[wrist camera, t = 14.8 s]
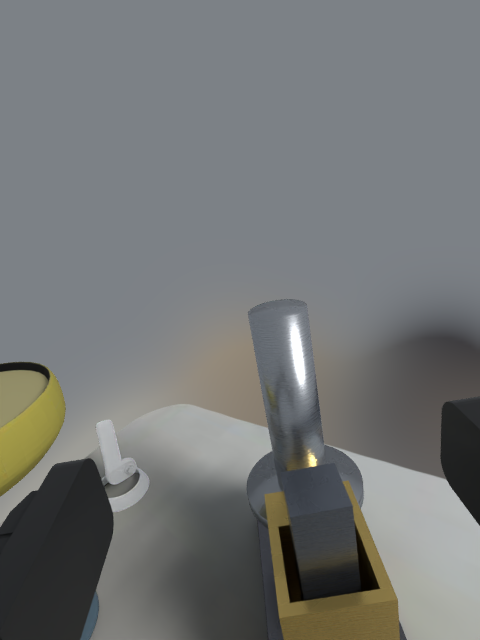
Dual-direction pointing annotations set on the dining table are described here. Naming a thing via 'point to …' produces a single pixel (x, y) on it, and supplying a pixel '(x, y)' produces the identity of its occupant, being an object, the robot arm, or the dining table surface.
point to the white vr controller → (119, 468)
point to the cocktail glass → (30, 430)
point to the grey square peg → (322, 531)
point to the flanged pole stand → (269, 503)
